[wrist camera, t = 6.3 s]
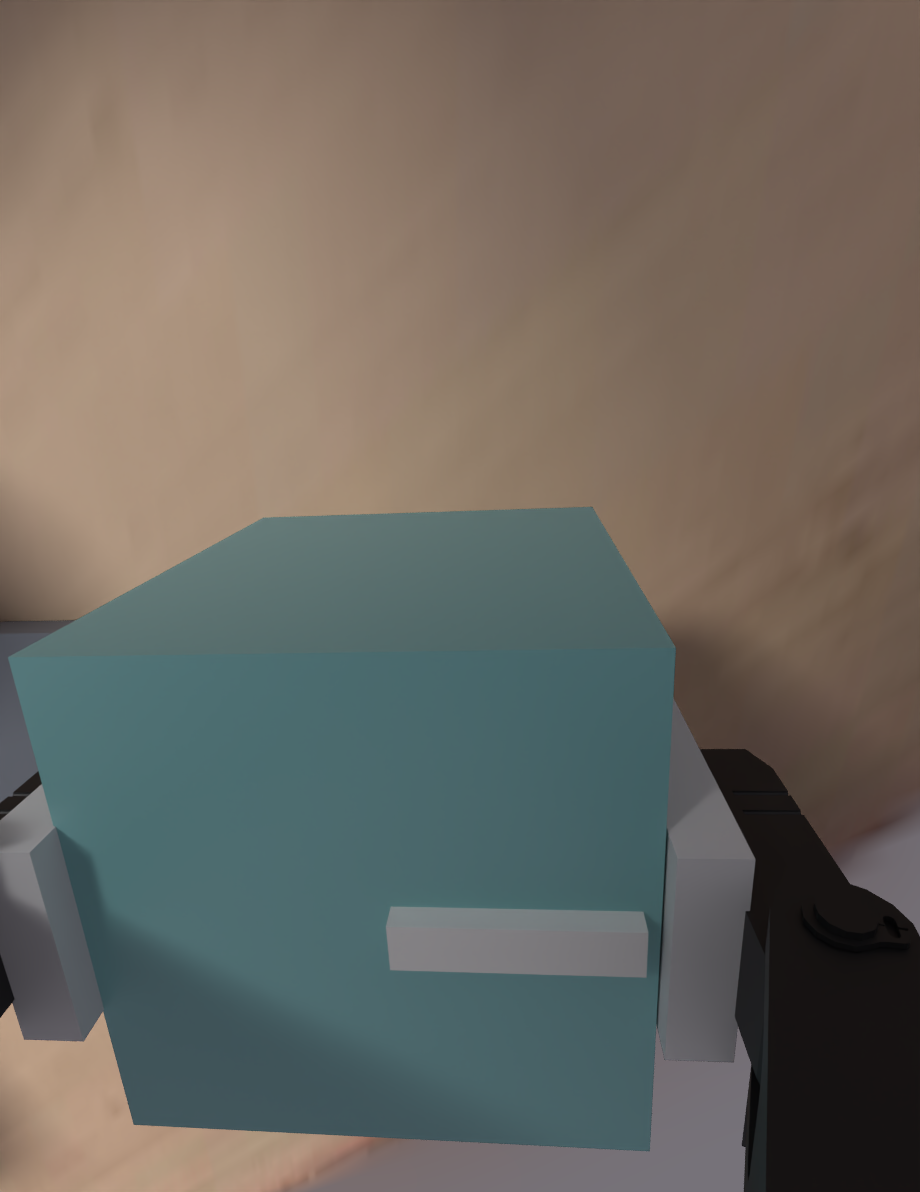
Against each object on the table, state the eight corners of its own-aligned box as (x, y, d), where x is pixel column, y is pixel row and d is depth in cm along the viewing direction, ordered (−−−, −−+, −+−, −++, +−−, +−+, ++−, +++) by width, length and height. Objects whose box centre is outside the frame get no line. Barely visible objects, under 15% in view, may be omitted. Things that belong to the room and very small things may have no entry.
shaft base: (11, 968, 26) (-123, 1121, 20) (-87, 623, 22) (-286, 697, 17) (370, 980, 25) (329, 1146, 19) (334, 616, 21) (268, 694, 15)
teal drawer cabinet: (302, 797, 16) (121, 1148, 9) (263, 517, 14) (-14, 668, 7) (589, 799, 16) (654, 1178, 8) (592, 507, 14) (683, 659, 6)
